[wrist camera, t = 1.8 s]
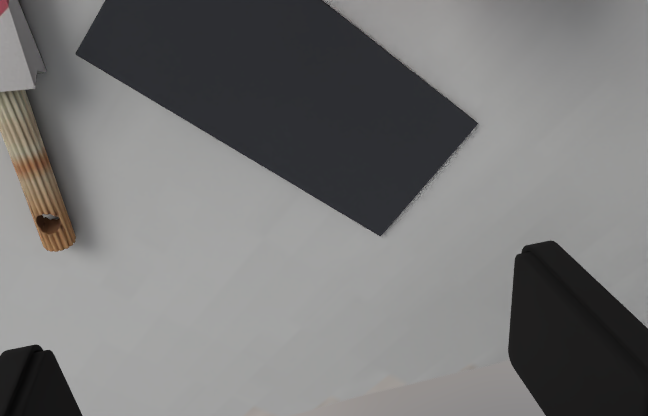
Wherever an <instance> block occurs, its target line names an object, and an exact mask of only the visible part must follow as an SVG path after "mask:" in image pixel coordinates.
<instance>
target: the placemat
mask: <svg viewBox="0 0 648 416" xmlns="http://www.w3.org/2000/svg"><path fill="white" fill-rule="evenodd" d="M76 55H78V56H79V57H81V58H83V59H84V60H86V61H88V62H89V63H91V64H93V65H94V66H96V67H98V68H99V69H101V70H103V71H104V72H106V73H108V74H109V75H111V76H113V77H114V78H116V79H118V80H120V81H121V82H123V83H125V84H126V85H128V86H130V87H131V88H133V89H135V90H136V91H138V92H140V93H141V94H143V95H145V96H146V97H148V98H150V99H151V100H153V101H155V102H156V103H158V104H160V105H161V106H163V107H165V108H166V109H168V110H170V111H171V112H173V113H175V114H176V115H178V116H180V117H181V118H183V119H185V120H187V121H188V122H190V123H192V124H193V125H195V126H197V127H198V128H200V129H202V130H203V131H205V132H207V133H208V134H210V135H212V136H213V137H215V138H217V139H218V140H220V141H222V142H223V143H225V144H227V145H228V146H230V147H232V148H233V149H235V150H237V151H238V152H240V153H242V154H243V155H245V156H247V157H248V158H250V159H252V160H254V161H255V162H257V163H259V164H260V165H262V166H264V167H265V168H267V169H269V170H270V171H272V172H274V173H275V174H277V175H279V176H280V177H282V178H284V179H285V180H287V181H289V182H290V183H292V184H294V185H295V186H297V187H299V188H300V189H302V190H304V191H305V192H307V193H309V194H310V195H312V196H314V197H315V198H317V199H319V200H320V201H322V202H324V203H326V204H327V205H329V206H331V207H332V208H334V209H336V210H337V211H339V212H341V213H342V214H344V215H346V216H347V217H349V218H351V219H352V220H354V221H356V222H357V223H359V224H361V225H362V226H364V227H366V228H367V229H369V230H371V231H372V232H374V233H376V234H377V235H379V236H381V235H382V234H383V233H384V232H385V231H386V230H387V228H388V227H389V226H390V225H391V224H392V223H393V221H394V220H395V219H396V218H397V217H398V216H399V214H400V213H401V212H402V211H403V210H404V209H405V208H406V206H407V205H408V204H409V203H410V202H411V201H412V199H413V198H414V197H415V196H416V195H417V194H418V192H419V191H420V190H421V189H422V188H423V187H424V186H425V184H426V183H427V182H428V181H429V180H430V179H431V177H432V176H433V175H434V174H435V173H436V172H437V170H438V169H439V168H440V167H441V166H442V165H443V164H444V162H445V161H446V160H447V159H448V158H449V157H450V155H451V154H452V153H453V152H454V151H455V150H456V148H457V147H458V146H459V145H460V144H461V143H462V142H463V140H464V139H465V138H466V137H467V136H468V135H469V133H470V132H471V131H472V130H473V129H474V128H475V126H476V125H477V124H478V123H477V122H476V121H474V120H473V119H472V118H471V117H469V116H468V115H467V114H465V113H464V112H463V111H462V110H460V109H459V108H458V107H457V106H455V105H454V104H453V103H452V102H450V101H449V100H448V99H446V98H445V97H444V96H443V95H441V94H440V93H439V92H438V91H436V90H435V89H434V88H433V87H431V86H430V85H429V84H427V83H426V82H425V81H424V80H422V79H421V78H420V77H419V76H417V75H416V74H415V73H414V72H412V71H411V70H410V69H408V68H407V67H406V66H405V65H403V64H402V63H401V62H400V61H398V60H397V59H396V58H394V57H393V56H392V55H391V54H389V53H388V52H387V51H386V50H384V49H383V48H382V47H381V46H379V45H378V44H377V43H375V42H374V41H373V40H372V39H370V38H369V37H368V36H367V35H365V34H364V33H363V32H362V31H360V30H359V29H358V28H356V27H355V26H354V25H353V24H351V23H350V22H349V21H348V20H346V19H345V18H344V17H343V16H341V15H340V14H339V13H337V12H336V11H335V10H334V9H332V8H331V7H330V6H329V5H327V4H326V3H325V2H324V1H322V0H105V2H104V4H103V6H102V7H101V9H100V11H99V13H98V15H97V16H96V18H95V20H94V22H93V24H92V25H91V27H90V29H89V31H88V33H87V34H86V36H85V38H84V40H83V41H82V43H81V45H80V47H79V49H78V50H77V52H76Z"/></svg>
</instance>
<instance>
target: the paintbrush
mask: <svg viewBox="0 0 648 416" xmlns="http://www.w3.org/2000/svg"><path fill="white" fill-rule="evenodd" d="M46 72H47V71H46V68H45V66H44V63H43V61H42V58H41V56H40V53H39V51H38V48H37V46H36V44H35V41H34V39H33V36H32V34H31V31H30V29H29V26H28V24H27V21H26V19H25V16H24V14H23V12H22V9H21V7H20V4H19V2H18V0H0V131H1V134H2V136H3V139H4V142H5V144H6V147H7V149H8V152H9V155H10V157H11V160H12V162H13V165H14V168H15V170H16V173H17V176H18V178H19V181H20V183H21V186H22V189H23V192H24V194H25V197H26V200H27V203H28V205H29V208H30V211H31V214H32V216H33V219H34V222H35V225H36V227H37V230H38V233H39V236H40V238H41V241H42V244H43V246H44V248H45V249H46V250H47V251H48V250H49V251H51V252H52V251H55V252H57V251H59V250H60V251H62V250H64V249H67V248H69V246H72V245H73V243H75V239H76V236H75V233H74V231H73V228H72V225H71V222H70V219H69V216H68V214H67V211H66V208H65V205H64V202H63V199H62V197H61V194H60V191H59V188H58V185H57V182H56V180H55V177H54V174H53V171H52V168H51V165H50V162H49V159H48V156H47V153H46V150H45V147H44V144H43V141H42V138H41V135H40V132H39V129H38V127H37V124H36V121H35V118H34V115H33V112H32V109H31V106H30V103H29V100H28V97H27V94H26V91H25V90H27V89H35V85H36V76H37V73H46ZM42 214H46V215H48V214H52V215H54V216H56V215H57V216H58V217H59V219H57V220H56V219H51V220H50V219H48V218H46V217H45V218H44V217H43V216H42ZM57 216H56V217H57Z"/></svg>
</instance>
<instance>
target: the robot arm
mask: <svg viewBox="0 0 648 416" xmlns="http://www.w3.org/2000/svg"><path fill="white" fill-rule="evenodd" d="M508 353H509V358H510V361H511V364H512V366H513V367H514V369H515V371H516V372H517V374H518V375H519V377H520V378H521V379H522V381H523V382H524V384H525V385H526V387H527V388H528V390H529V391H530V393H531V394H532V396H533V397H534V399H535V400H536V402H537V403H538V405H539V406H540V408H541V409H542V410H543V412H544V414H545V415H546V416H648V328H646V327H645V326H644V325H643V324H642V323H641V322H640V321H639V320H638V319H637V318H636V317H635V316H634V315H633V314H632V313H631V312H630V311H628V310H627V309H626V308H625V307H624V306H623V305H622V304H621V303H620V302H619V301H618V300H617V299H616V298H615V297H613V296H612V295H611V294H610V293H609V292H608V291H607V290H606V289H605V288H604V287H603V286H602V285H601V284H600V283H599V282H598V281H596V280H595V279H594V278H593V277H592V276H591V275H590V274H589V273H588V272H587V271H586V270H585V269H584V268H583V267H582V266H581V265H579V264H578V263H577V262H576V261H575V260H574V259H573V258H572V257H571V256H570V255H569V254H568V253H567V252H566V251H565V250H564V249H562V248H561V247H560V246H559V245H558V244H557V243H556V242H554V241H546V242H541V243H536V244H531V245H526V246H525V247H524V248H523V249H522V253H521V254H518V255H517V256H516V257H515V265H514V278H513V292H512V305H511V319H510V333H509V346H508ZM0 416H82V414H81V412H80V409H79V407H78V405H77V403H76V401H75V399H74V397H73V394H72V392H71V390H70V388H69V386H68V384H67V382H66V379H65V377H64V375H63V373H62V371H61V369H60V367H59V364H58V362H57V360H56V358H55V356H54V354H53V352H52V351H50V350H45V351H43V349H42V348H41V347H40V346H39V345H31V346H26V347H21V348H16V349H11V350H6V351H4V352H3V353H2V354H1V356H0Z"/></svg>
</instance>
